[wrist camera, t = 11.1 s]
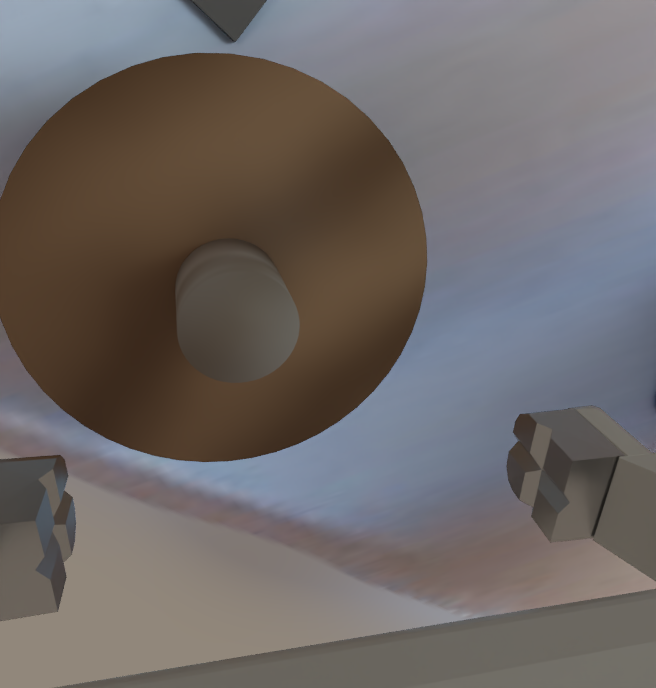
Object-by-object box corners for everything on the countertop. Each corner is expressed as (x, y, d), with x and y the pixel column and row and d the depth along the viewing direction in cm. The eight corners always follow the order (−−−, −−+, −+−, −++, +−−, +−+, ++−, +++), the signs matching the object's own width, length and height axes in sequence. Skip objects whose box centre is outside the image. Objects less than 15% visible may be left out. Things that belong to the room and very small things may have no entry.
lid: (487, 243, 21) (553, 283, 17) (256, 496, 23) (272, 576, 20) (178, -68, 15) (183, -105, 11) (-90, 319, 17) (-156, 388, 14)
